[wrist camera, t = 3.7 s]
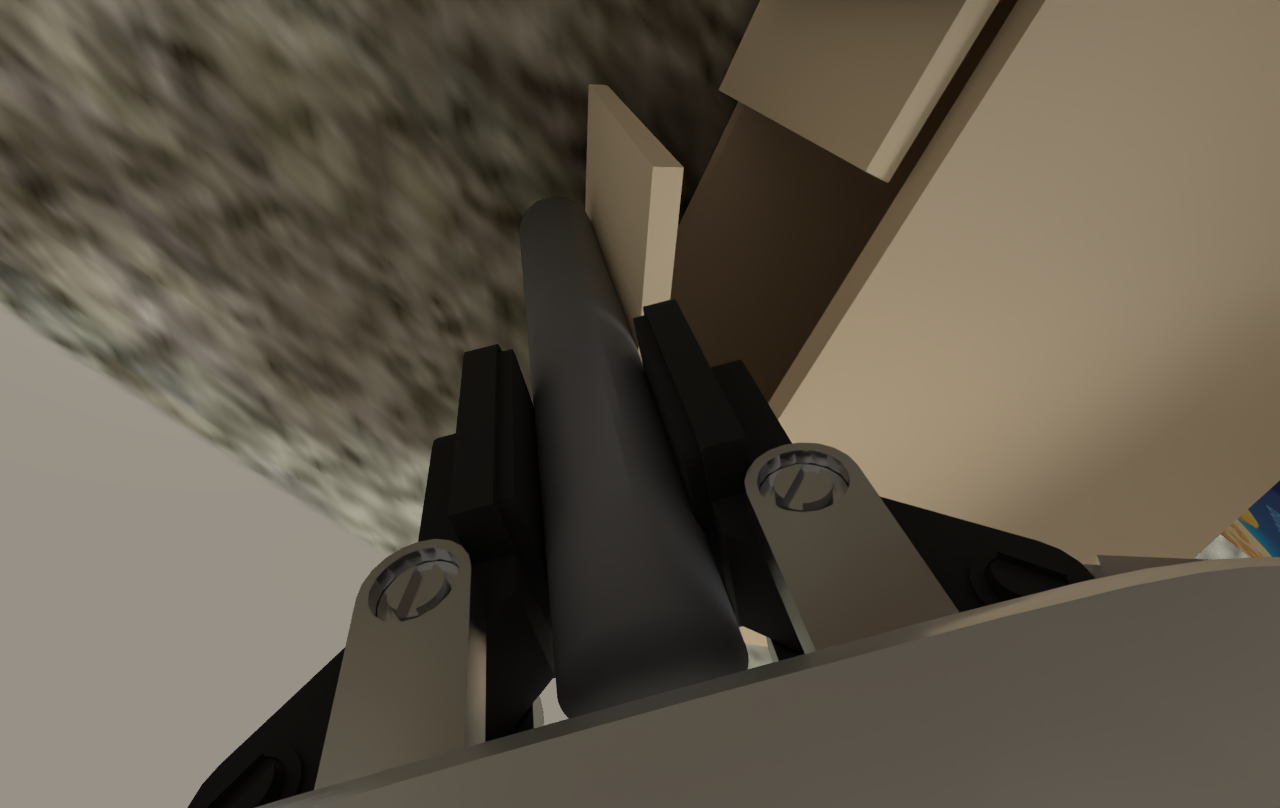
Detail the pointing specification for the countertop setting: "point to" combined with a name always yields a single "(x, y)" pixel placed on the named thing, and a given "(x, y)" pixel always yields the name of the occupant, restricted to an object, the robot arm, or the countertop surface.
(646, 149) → the flap
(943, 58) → the flap
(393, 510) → the countertop surface
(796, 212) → the wooden cabinet
